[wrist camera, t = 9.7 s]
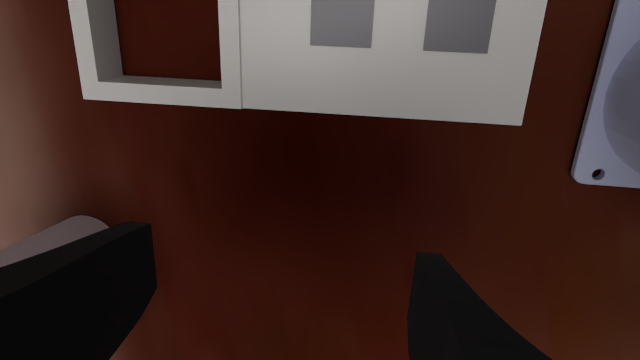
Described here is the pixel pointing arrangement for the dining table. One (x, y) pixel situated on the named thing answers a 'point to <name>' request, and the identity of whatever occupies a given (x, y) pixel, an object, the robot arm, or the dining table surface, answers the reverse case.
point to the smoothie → (51, 238)
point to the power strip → (340, 58)
